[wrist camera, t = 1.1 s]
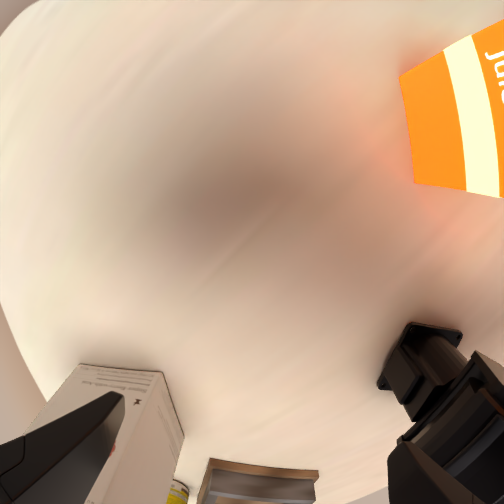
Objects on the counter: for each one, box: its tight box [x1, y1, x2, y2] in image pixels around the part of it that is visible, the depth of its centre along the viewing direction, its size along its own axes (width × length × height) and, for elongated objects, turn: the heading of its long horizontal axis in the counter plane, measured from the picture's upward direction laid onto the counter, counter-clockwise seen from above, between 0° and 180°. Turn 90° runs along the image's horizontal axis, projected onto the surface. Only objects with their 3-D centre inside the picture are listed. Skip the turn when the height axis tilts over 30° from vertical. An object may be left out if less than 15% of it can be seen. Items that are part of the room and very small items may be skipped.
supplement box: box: [22, 364, 184, 504], centre depth 16 cm, size 9×9×15 cm
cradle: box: [197, 458, 319, 504], centre depth 25 cm, size 12×12×4 cm
